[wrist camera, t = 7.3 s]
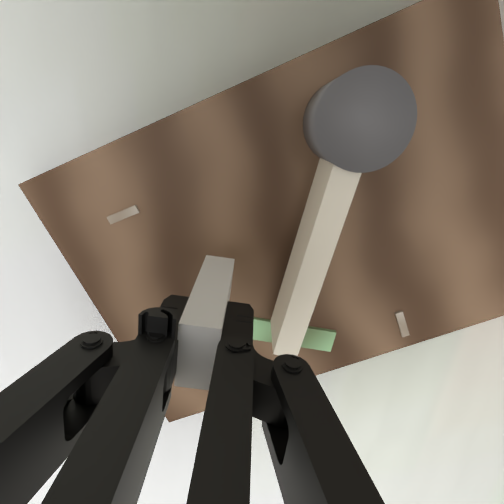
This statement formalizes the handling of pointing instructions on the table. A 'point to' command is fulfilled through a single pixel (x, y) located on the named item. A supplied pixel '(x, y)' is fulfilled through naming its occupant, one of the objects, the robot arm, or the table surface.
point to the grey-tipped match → (339, 180)
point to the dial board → (296, 194)
